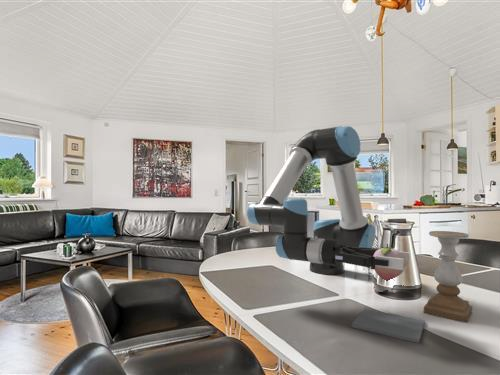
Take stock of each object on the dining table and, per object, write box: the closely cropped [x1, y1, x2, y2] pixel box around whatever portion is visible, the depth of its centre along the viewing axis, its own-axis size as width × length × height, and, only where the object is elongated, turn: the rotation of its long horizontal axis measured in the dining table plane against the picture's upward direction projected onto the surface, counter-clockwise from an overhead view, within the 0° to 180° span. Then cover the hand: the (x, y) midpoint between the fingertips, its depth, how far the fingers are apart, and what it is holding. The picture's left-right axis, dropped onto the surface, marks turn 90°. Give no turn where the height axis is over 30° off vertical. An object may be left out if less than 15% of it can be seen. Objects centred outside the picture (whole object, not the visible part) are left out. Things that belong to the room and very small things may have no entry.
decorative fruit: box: [373, 243, 406, 281], centre depth 88 cm, size 9×8×10 cm
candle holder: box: [423, 230, 473, 324], centre depth 97 cm, size 11×11×24 cm
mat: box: [351, 308, 426, 344], centre depth 88 cm, size 16×14×1 cm
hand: (406, 260), depth 85 cm, fingers closed on decorative fruit, 9 cm apart
